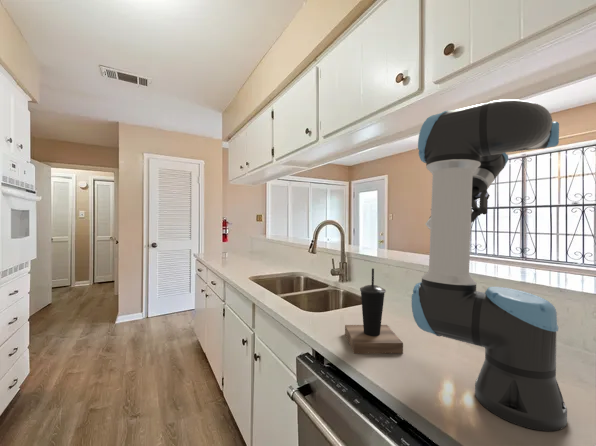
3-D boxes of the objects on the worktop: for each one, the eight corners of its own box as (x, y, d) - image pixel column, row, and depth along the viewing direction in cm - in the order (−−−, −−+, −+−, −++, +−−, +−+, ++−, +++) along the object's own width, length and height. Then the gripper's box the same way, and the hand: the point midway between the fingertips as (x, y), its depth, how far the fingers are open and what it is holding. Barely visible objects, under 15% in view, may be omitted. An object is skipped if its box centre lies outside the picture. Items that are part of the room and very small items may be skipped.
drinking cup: (379, 340, 84) (380, 271, 84) (355, 334, 89) (356, 268, 88) (388, 332, 90) (389, 268, 90) (365, 326, 95) (366, 265, 95)
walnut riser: (402, 353, 83) (403, 343, 83) (354, 353, 82) (354, 343, 82) (386, 333, 97) (386, 324, 97) (344, 333, 96) (345, 324, 96)
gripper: (519, 189, 91) (485, 237, 86) (451, 194, 115) (421, 233, 109) (508, 171, 89) (473, 219, 84) (441, 180, 113) (410, 218, 107)
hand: (443, 227), depth 97 cm, fingers open, 13 cm apart
